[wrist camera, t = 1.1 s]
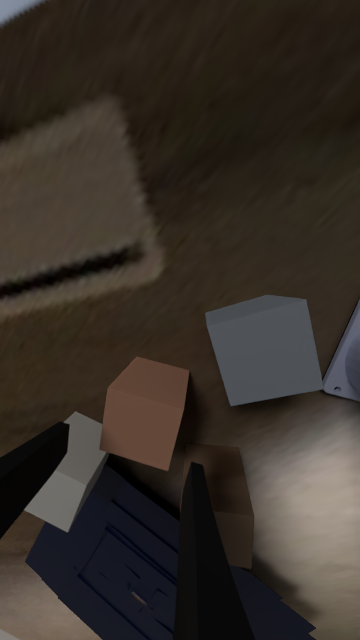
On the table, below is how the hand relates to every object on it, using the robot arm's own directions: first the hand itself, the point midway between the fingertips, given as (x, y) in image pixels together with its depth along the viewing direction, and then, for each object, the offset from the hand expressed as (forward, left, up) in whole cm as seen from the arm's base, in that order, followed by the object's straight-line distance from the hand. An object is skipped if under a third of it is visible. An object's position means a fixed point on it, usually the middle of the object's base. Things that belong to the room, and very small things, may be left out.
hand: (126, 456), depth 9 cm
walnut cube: (-7, +7, -7) cm, 12 cm away
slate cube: (-6, -7, -7) cm, 11 cm away
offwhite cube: (+6, +8, -6) cm, 12 cm away
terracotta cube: (0, 0, -7) cm, 7 cm away
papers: (-4, +24, -7) cm, 26 cm away
